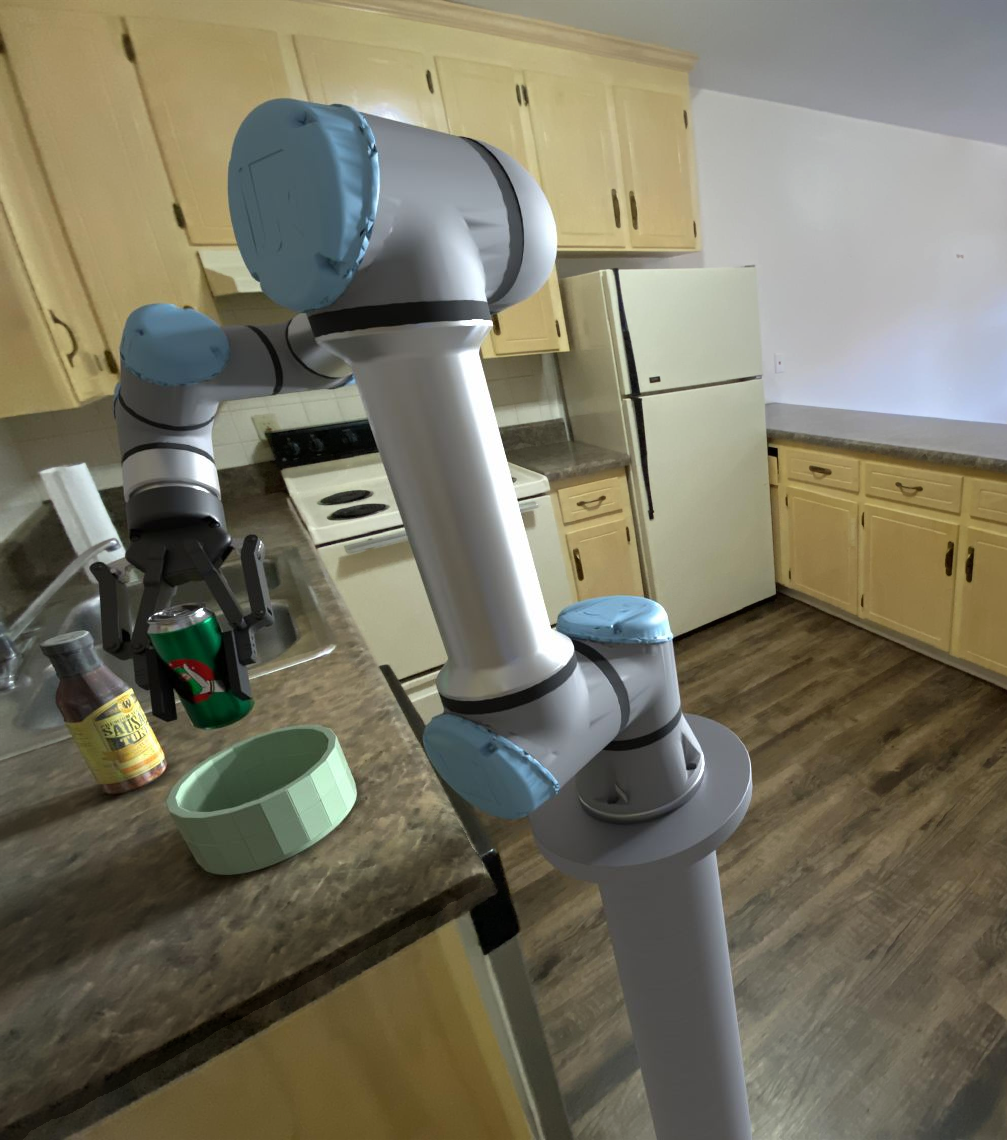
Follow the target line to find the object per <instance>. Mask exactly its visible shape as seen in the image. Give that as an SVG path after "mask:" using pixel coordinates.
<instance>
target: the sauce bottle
mask: <svg viewBox="0 0 1007 1140" xmlns="http://www.w3.org/2000/svg"><path fill="white" fill-rule="evenodd" d="M39 649H40V650H41V652H42V654H43V656H45V657H46V658H48V659H49V661H50V664H51V666H52V667H53V669H54V671H55V676H56V677H57V678H58V679H59V682H58V686H57V688H56V691H55V697H54V698H55V699H54V701H55V704H56V707H57V709H58V710H59V712H60V714H61V716H62V719H63V722H64V725H65V726H66V728H67V730H68V731H69V734H70V735H71V737H72V739H73V741H74V743H75V744H76V746H77V748H78V750H79V752H80V754H81V755H82V758H83V759H84V761H85V763H86V765H87V767H88V769H89V770H90V773H91V774H92V776H93V778H94V780H95V782H96V783H98V784H100V788H101V790H102V791H103V792H104V793H106V794H108V795H117V794H124V793H128V792H131V791H134V790H137V789H139V788H141V787H144V786H145V785H147V784H149V783H150V784H151V782H153V781H154V780H157V778H159V777H160V776H161V775H162V774H163V773H164V772H165V770H166V769H167V765H168V763H167V760H166V758H165V753H164V752H163V749H162V747H161V744H159V741H158V739H157V737H156V735H155V733H154V731H153V729H152V726H151V724H150V723H149V720H148V717H147V716H146V714H145V712H144V711H143V708H142V706H141V705H140V702H139V700H138V698H137V696H136V694H135V692H134V690H133V688H132V687H131V686H130V685H129V684H127V683H126V682H125V681H124V680H122V679H121V678H120V677H119V676H118V675H116V674H115V673H114V672H113V671H112V670H111V669H110V668H109V667H108V666H107V665H106V664H105V663H104V661H103V659H102V658H101V657H100V655H99V652H98V651H97V650H96V646H95V640H94V638H93V636H92V634H91V632H90V631H87V630H77V631H71V632H66V633H63V634H59V635H56V636H52V637H50V638H48V639H46V640H44V641H42V642H41V643H39Z"/></svg>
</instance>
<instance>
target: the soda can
mask: <svg viewBox="0 0 1007 1140" xmlns="http://www.w3.org/2000/svg"><path fill="white" fill-rule="evenodd" d="M146 623H147V624H148V626H147V629H146V635H147V637H148V639H149V641H150V643H151V645H152V647H153V648H154V650H155V652H156V654H157V656H158V658H159V660H160V662H161V664H162V666H163V668H164V670H165V672H166V674H167V676H168V678H169V680H170V682H171V684H172V686H173V688H174V693H175V695H176V696H177V698H178V700H179V702H180V704H181V706H182V708H183V710H184V712H185V714H186V716H187V718H188V720H189V722H190V724H191V726H192V727H194V728H196V729H200V730H203V731H213V730H218V729H222V728H226V727H228V726H230V725H234V724H236V723H238V722H239V721H241V720H243V719H244V718H245V717H247V716H248V715H249V714H251V712H252V710H253V709H254V707H255V704H256V701H255V699H254V697H253V696H252V699H250V700H246V701H242V700H240V699H239V698H237V697H236V696H234V695H233V694H232V693H231V686H230V680H229V674H228V667H227V661H226V655H225V649H224V642H223V636H222V632H224V631H223V628H222V626H221V624H220V621H219V619H218V617H217V615H216V612H215V611H213V610H211V609H209V608H208V607H207V605H206V603H204V602H188V603H183V604H178V605H174V606H170V608H167V609H164V610H162V611H159V612H157V613H155V614H153V615H151V616H149V617H148V618H147V619H146Z"/></svg>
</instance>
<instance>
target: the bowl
mask: <svg viewBox="0 0 1007 1140" xmlns="http://www.w3.org/2000/svg"><path fill="white" fill-rule="evenodd" d="M349 766H350V765H349V764H348V761H347V759H346V757H345V753H344V751H343V749H342V746H341V744H340V742H339V739H338V737H337V735H336V734H335V733H334V731H333V730H332V729H331V728H330V727H329V728H328V727H325V726H322V725H320V724H295V725H291V726H285V727H284V726H283V727H278V728H275V729H272V730H269V731H266V732H262V733H259V734H258V733H257V734H255V735H252V736H250V737H248V738H245V739H243V740H241V741H239V742H236V743H233V744H231V745H229V746H227V747H225V748H223V749H222V750H219V751H218V752H215V753H214V754H212V755H210V756H208V757H207V758H206V759H204V760H202V761H201V762H200V763H198V764H197V765H195V766H194V767H193V768H192V769H190V770H189V771H187V772H186V773H185V774H184V775H183V776H182V777H180V779H179V780H178V781H177V782H176V783H175V784H173V786H172V787H171V789H170V791H169V794H168V795H167V798H166V800H165V804H166V808H167V811H168V813H169V815H170V817H171V818H172V820H173V822H174V824H175V825H176V827H177V829H178V831H179V833H180V834H181V836H182V838H183V840H184V842H185V843H186V845H187V847H188V849H189V850H190V852H191V854H192V856H193V857H194V860H195V862H196V864H198V865H199V866H200V867H201V869H202V870H204V871H206V872H207V873H210V874H212V875H213V874H214V875H219V876H232V875H240V874H247V873H252V872H255V871H258V870H262V869H265V868H268V867H270V866H273V865H276V864H278V863H279V864H280V863H281V862H283V861H286V860H287V859H289V858H292V857H294V856H295V855H297V854H300V853H301V852H303V851H306V850H307V849H308V848H310V847H311V846H313V845H315V844H316V843H318V842H319V841H321V840H322V839H323V838H325V837H326V836H327V835H329V834H330V833H331V832H332V831H333V830H334V829H335V828H337V827H338V826H339V825H340V824H341V823H342V822H343V821H344V819H345V818H346V817H347V816H348V814H350V812H351V810H352V808H353V807H354V805H355V803H356V801H357V796H358V790H357V786H356V782H355V778H354V776H353V774H352V772H351V769H350V767H349Z"/></svg>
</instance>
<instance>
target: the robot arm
mask: <svg viewBox="0 0 1007 1140" xmlns="http://www.w3.org/2000/svg"><path fill="white" fill-rule="evenodd" d="M230 152H231V153H230V158H229V161H228V167H227V201H228V211H229V216H230V222H231V226H232V230H233V235H234V239H235V242H236V246H237V248H238V251H239V253H240V256H241V258H242V261H243V263H244V265H245V267H246V269H247V271H248V272H249V274H250V276H251V278H252V279H254V280H255V282H258V283H259V287H260V290H261V292H262V293H264V294H265V295H266V297H268V298H269V299H270V300H272V302H274V303H276V304H277V305H278V306H281V307H283V308H286V309H289V310H291V311H293V312H295V313H298V314H296V315H295V316H293V317H292V318H290V319H288V320H287V321H285V322H281V323H273V324H272V323H271V324H251V325H250V324H248V325H247V324H246V325H243V324H242V325H219V324H218V323H217V322H216V321H215V320H213V318H211V317H209V316H207V315H206V314H204V313H202V312H200V311H198V310H196V309H193V308H190V307H189V308H188V307H187V308H182V307H178V306H176V305H175V304H173V303H165V302H164V303H163V302H161V303H160V302H159V303H157V302H156V303H150V304H149V303H148V304H144V305H142V306H140V307H138V308H136V309H134V310H133V311H132V312H131V313H130V314H128V316H127V318H126V321H125V324H124V328H123V330H122V334H121V339H120V344H119V347H118V349H119V350H118V351H119V360H120V364H119V365H120V367H119V368H120V369H119V371H120V373H119V374H120V380H119V381H117V383H116V384H115V386H114V389H113V393H114V394H113V400H112V401H113V407H112V414H113V419H114V420H115V423H116V432H117V439H118V444H119V451H120V460H121V461H120V463H121V475H122V485H123V486H122V487H123V498H124V502H125V503H126V504H125V513H126V523H127V532H128V537H129V545H128V547H127V549H126V551H125V552H124V556H123V557H121V558H118V559H115V560H114V561H111V562H109V563H105V562H103V561H95V562H93V563H91V564H90V565H89V567H88V568H89V572H91V574H92V575H93V577H94V578H95V580H96V582H97V583H98V593H99V594H98V595H99V608H100V609H99V610H100V621H101V622H100V625H101V642H102V649H103V651H104V652H106V653H107V654H110V655H111V656H113V657H114V658H116V659H118V660H121V661H127V660H132V663H133V672H134V681H135V685H137V687H138V688H140V689H143V690H145V691H146V692H147V691H149V698H150V705H151V713H152V716H153V717H155V718H157V719H160V720H162V721H164V722H166V723H169V722H174V721H177V720H178V714H177V713H178V712H177V705H176V697H175V690H174V688H173V686H172V684H171V682H170V680H169V678H168V676H167V674H166V672H165V670H164V668H163V666H162V664H161V662H160V660H159V658H158V656H157V654H156V652H155V650H154V648H153V647H152V645H151V643H150V641H149V639H148V637H147V635H146V629H147V626H148V624H147V623H146V619H147V618H148V617H149V616H151V615H153V614H155V613H157V612H159V611H162V610H164V609H167V608H170V607H171V603H172V599H173V597H175V596H176V594H177V591H178V586H182V585H185V584H187V583H190V582H203V581H204V583H205V584H206V586H207V588H208V590H209V591H210V592H211V594H212V596H213V598H214V599H215V601H216V603H217V605H218V606H219V608H220V610H221V611H222V614H223V615H224V617H225V618H226V620H227V622H228V623H227V624H228V625H229V627H231V628H232V630H227V631H223V632H222V636H223V642H224V649H225V655H226V661H227V667H228V674H229V680H230V686H231V693H232V694H233V695H234V696H236V697H237V698H239V699H240V700H242V701H246V700H250V699H252V697H253V695H252V690H251V684H250V683H251V682H250V676H249V672H248V666H249V665H254V664H257V662H258V658H259V655H258V651H257V646H256V645H257V644H256V639H255V634H256V633H257V632H258V630H260V629H262V628H264V627H265V628H267V627H271V626H273V625H274V623H275V615H274V610H273V606H272V600H271V596H270V591H269V588H268V582H267V578H266V573H265V568H264V561H265V557H266V553H267V547H266V545H265V544H264V543H263V542H262V540H261V539H260V537H259V536H258V535H257V534H254V533H253V534H252V533H251V534H248V535H245V537H232V536H231V535H230V533H228V528H227V522H226V516H225V510H224V505H223V502H222V495H221V487H220V481H219V476H218V470H217V465H216V462H215V455H214V447H213V439H212V435H213V434H212V432H213V426H214V421H215V417H216V414H217V411H218V407H219V404H220V403H224V402H232V401H240V400H241V401H242V400H249V399H256V398H265V397H271V396H277V395H284V394H294V393H301V392H311V391H319V390H330V391H331V390H337V389H340V388H341V389H342V388H344V387H347V386H353V385H356V387H357V392H358V394H359V396H360V400H361V402H362V406H363V408H364V412H365V415H366V417H367V422H368V423H369V427H370V430H371V432H372V435H373V439H374V441H375V444H376V448H377V450H378V453H379V457H380V459H381V462H382V465H383V468H384V471H385V474H386V477H387V481H388V483H389V486H390V489H391V493H392V495H393V499H394V501H395V504H396V507H397V511H398V513H399V516H400V519H401V522H402V525H403V528H404V531H405V534H406V537H407V540H408V543H409V546H410V550H411V553H412V555H413V557H414V561H415V564H416V566H417V567H416V568H417V569H418V573H419V576H420V579H421V582H422V584H423V588H424V590H425V594H426V596H427V599H428V600H427V601H428V603H429V605H430V608H431V609H430V610H431V612H432V615H433V618H434V620H435V624H436V626H437V629H438V633H439V635H440V638H441V641H442V644H443V648H444V650H445V653H446V656H447V660H445V662H444V664H443V666H442V667H441V668H440V671H438V674H437V675H436V678H435V686H436V690H437V692H438V696H439V698H440V702H441V704H442V707H443V712H442V713H439V714H437V715H435V716H432V717H431V719H430V721H429V722H428V723H427V724H426V725H425V728H424V730H423V734H422V742H423V747H424V750H425V753H426V755H427V757H428V759H429V761H430V763H431V764H432V766H433V767H434V769H435V770H436V771H437V773H438V774H439V776H440V777H441V778H442V779H443V781H444V782H445V783H446V784H447V785H448V786H449V787H450V788H451V789H452V790H453V791H454V792H455V793H456V794H458V795H459V796H460V797H461V798H462V799H463V800H465V801H466V802H468V803H469V804H470V805H471V806H473V807H475V808H477V809H478V810H480V811H482V812H483V813H485V814H487V815H490V816H492V817H495V818H499V819H504V820H518V819H522V818H525V817H527V816H528V815H529V814H530V813H532V812H533V811H534V810H536V809H537V808H538V807H539V806H541V805H542V804H543V803H544V802H546V801H547V800H548V799H549V798H550V797H554V796H555V795H557V794H558V792H559V791H560V788H561V787H562V786H563V785H565V784H566V783H567V782H568V781H569V780H570V779H571V778H572V777H573V776H574V775H575V786H576V791H577V796H578V800H579V802H580V804H581V806H582V808H583V809H584V810H585V811H586V812H587V813H588V814H589V815H591V816H592V817H594V818H596V819H598V820H601V821H604V822H607V823H612V824H624V825H627V824H639V823H644V822H648V821H652V820H655V819H658V818H661V817H663V816H666V815H668V814H670V813H672V812H674V811H675V810H677V809H678V808H680V807H681V806H683V805H684V804H685V803H686V802H688V801H689V800H690V799H691V798H692V797H693V796H694V794H695V793H696V792H697V791H698V789H699V787H700V786H701V784H702V781H703V778H704V774H705V765H704V758H703V753H702V750H701V747H700V745H699V743H698V741H697V739H696V737H695V736H694V734H693V732H692V730H691V729H690V727H689V725H688V723H687V721H686V720H685V718H684V716H683V714H682V713H683V710H682V704H681V696H680V695H681V694H680V688H679V681H678V673H677V666H676V660H675V658H676V657H675V650H674V642H673V639H674V635H673V632H672V631H671V628H670V627H671V626H670V622H669V617H668V613H667V612H666V610H665V608H664V606H662V605H661V604H660V603H659V602H656V601H655V600H652V599H651V598H650V599H649V598H646V597H642V596H634V595H607V596H598V597H594V598H587V599H584V600H581V601H577V602H575V603H573V604H570V605H568V606H566V607H565V608H563V609H562V610H561V611H560V612H559V613H558V615H557V618H556V619H557V620H556V626H555V629H554V628H551V623H550V619H549V615H548V612H547V608H546V604H545V601H544V597H543V593H542V589H541V585H540V582H539V579H538V574H537V570H536V567H535V562H534V559H533V555H532V551H531V548H530V543H529V540H528V536H527V532H526V528H525V525H524V521H523V517H522V513H521V511H520V505H519V501H518V498H517V494H516V490H515V487H514V483H513V479H512V475H511V471H510V467H509V464H508V460H507V456H506V453H505V448H504V445H503V440H502V438H501V437H502V436H501V433H500V429H499V426H498V425H499V424H498V422H497V421H498V420H497V418H496V415H495V411H494V407H493V403H492V399H491V395H490V391H489V387H488V384H487V380H486V376H485V372H484V369H483V364H482V360H481V356H480V350H481V346H482V344H483V342H484V341H485V339H486V338H487V337H488V335H489V333H490V332H491V330H492V329H493V327H494V324H493V319H492V316H494V315H497V314H499V313H501V312H503V311H505V310H507V309H508V308H511V307H513V306H515V305H517V304H520V303H521V302H524V301H527V300H528V299H529V298H530V297H532V296H533V295H535V294H536V293H538V292H539V290H540V289H541V288H542V287H543V286H544V285H545V284H546V282H547V281H548V279H549V278H550V275H551V274H552V272H553V270H554V267H555V262H556V258H557V251H558V233H557V225H556V220H555V217H554V214H553V211H552V208H551V205H550V203H549V201H548V198H547V196H546V195H545V193H544V191H543V189H542V188H541V187H540V185H539V183H537V181H536V180H535V178H534V177H533V175H532V174H531V173H529V171H528V170H527V169H525V167H524V166H522V164H520V162H519V161H518V160H516V159H515V158H514V157H512V156H511V155H510V154H508V153H507V152H505V151H504V150H501V148H497V147H496V146H494V145H492V144H490V143H488V142H486V141H482V140H479V139H474V138H472V137H468V136H462V135H460V136H459V135H455V134H451V133H447V132H443V131H439V130H434V129H430V128H427V127H423V126H419V125H414V124H412V123H406V122H403V121H399V120H394V119H391V118H388V117H387V118H386V117H383V116H379V115H375V114H370V113H367V112H362V111H358V110H357V109H355V108H354V107H352V106H350V105H347V104H341V103H331V104H324V103H318V102H311V101H306V100H302V99H301V100H300V99H296V98H287V97H280V98H273V99H269V100H266V101H264V102H263V103H261V104H258V105H257V106H256V107H254V108H253V109H252V110H251V111H250V112H249V113H248V114H247V115H246V116H245V118H243V120H242V122H241V124H239V127H238V128H237V131H236V134H235V136H234V139H233V142H232V147H231V151H230ZM233 551H235V554H236V555H237V556H238V558H240V562H241V567H242V572H243V577H244V582H245V587H246V588H245V589H246V592H247V598H248V602H249V603H248V604H249V608H250V612H251V613H249V614H246V612H245V611H244V609H243V607H242V606H241V604H240V602H239V601H238V599H237V597H236V595H235V594H234V593H233V591H232V589H231V588H230V585H229V584H228V580H227V579H226V577H225V575H224V573H223V572H222V571H221V567H222V566H223V565H224V563H225V562H226V561H227V559H228V558H229V557H230V555H231V554H232V553H233ZM134 569H137V570H139V571H140V572H141V573H143V575H144V576H143V580H142V584H143V591H142V594H141V595H142V596H141V599H140V603H139V608H138V611H137V615H136V618H135V622H134V627H133V623H132V622H133V621H132V610H131V599H130V598H131V597H130V591H129V588H128V585H127V584H129V583H130V582H131V572H132V571H133V570H134Z"/></svg>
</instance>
